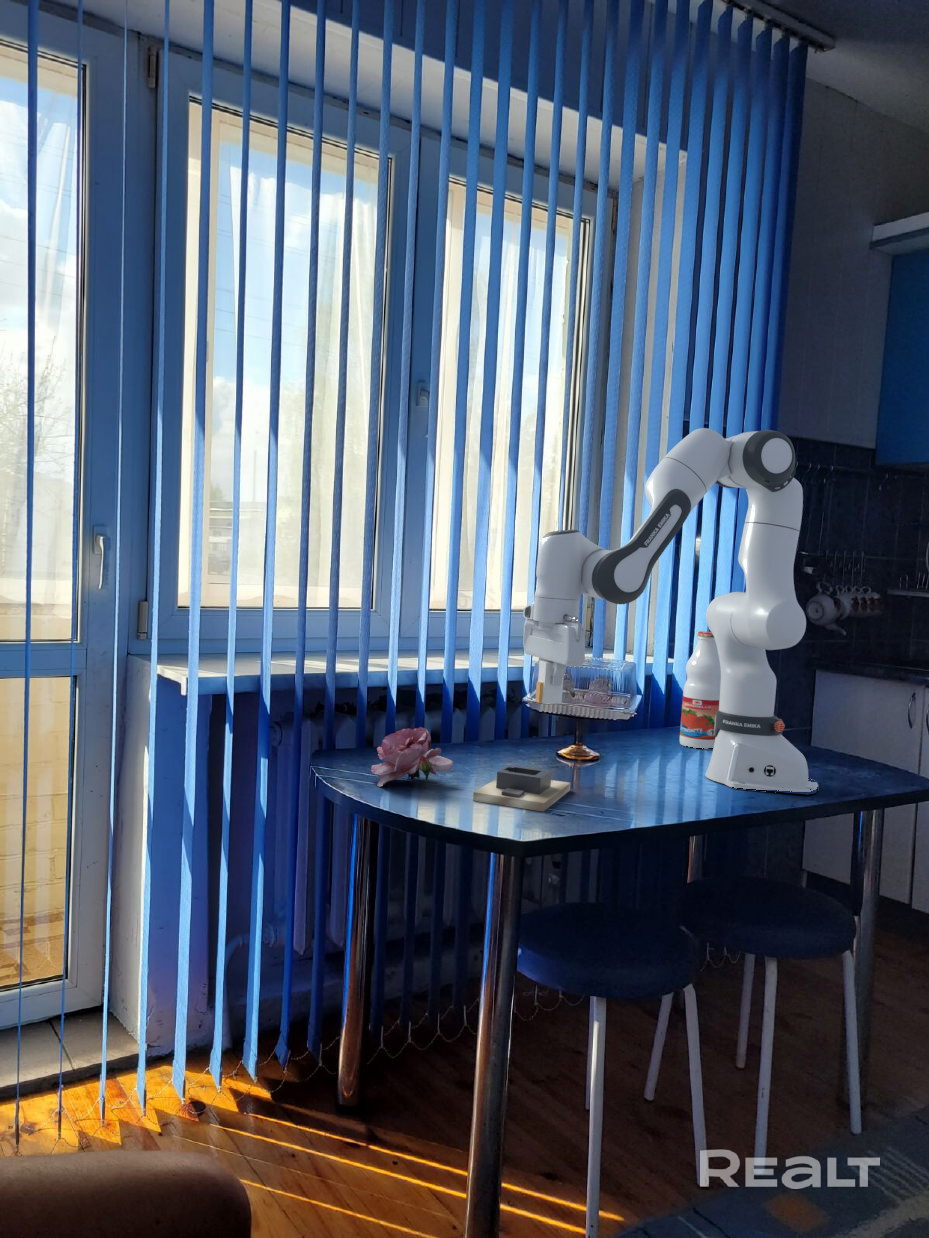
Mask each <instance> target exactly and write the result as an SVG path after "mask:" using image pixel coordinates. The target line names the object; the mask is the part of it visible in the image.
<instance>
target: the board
mask: <svg viewBox="0 0 929 1238" xmlns="http://www.w3.org/2000/svg"><path fill="white" fill-rule="evenodd" d="M496 783H497V778H495V779H493V780H492V781H490V782H488V783H486V784H485V785H483V786H482V787H480V788H478V789H477V790H475V791H473V795H472V801H475V802H480V803H487V804H492V805H493V804H494V805H499V806H507V807H512V808H519V809H525V810H531V811H537V812H545V811H546V810H547V809H549V808H550V807H551V806H552V805H554V804H555V803H557V802H558V801H559V800H560V799H561V798H562V797H564V796H565V795H566V794H567V793H569V792H570V791H571V782H566V781H561V780H554V779H553V780H552V779H551V787H549V788H548V789H547V790H545V791H544V792H542V793H541V794H540V795H539V794H532V793H526V792H524V791H523V790H517V789H510V788H507V789H499V788H496Z"/></svg>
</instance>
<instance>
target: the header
mask: <svg viewBox="0 0 929 1238" xmlns="http://www.w3.org/2000/svg"><path fill="white" fill-rule="evenodd" d="M496 773H497V774H496V779H497V783H496V788H499V789H507V788H510V789H517V790H523V791H524V792H526V793H532V794H539V795H540V794H541V793H542V792H544V791H545V790H547V789H548V788H549V787H551V780H552V770H549V769H544V768H536V767H528V766H521V765H515V764H508V765H506V766H505V767H503V768H501V769H499V770H498V771H497V772H496Z"/></svg>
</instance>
